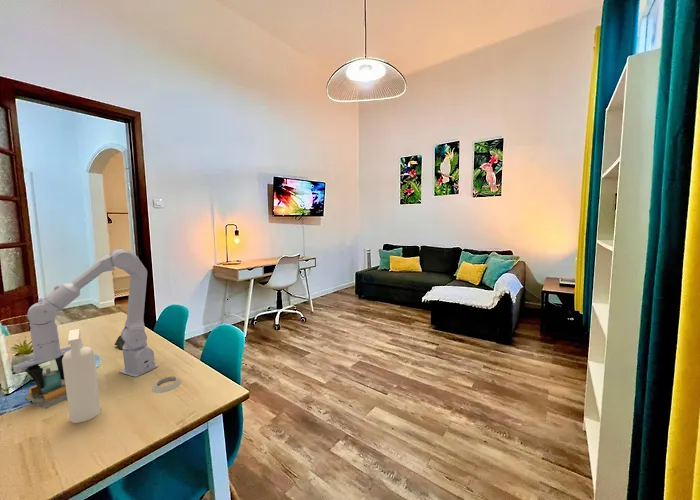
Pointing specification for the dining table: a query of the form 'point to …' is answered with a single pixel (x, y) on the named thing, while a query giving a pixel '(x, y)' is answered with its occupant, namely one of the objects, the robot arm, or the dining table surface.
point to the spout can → (51, 380)
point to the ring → (169, 387)
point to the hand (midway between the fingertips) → (51, 383)
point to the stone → (120, 342)
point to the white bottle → (80, 380)
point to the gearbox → (47, 396)
